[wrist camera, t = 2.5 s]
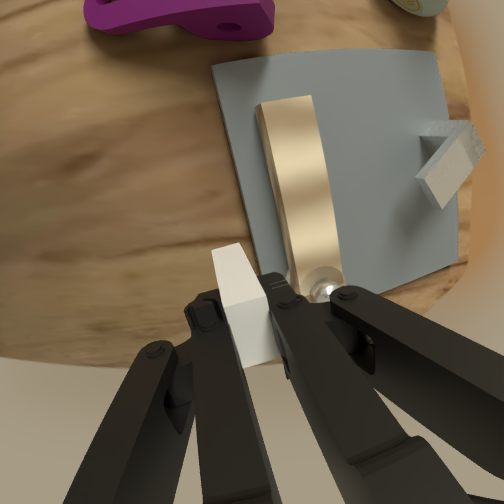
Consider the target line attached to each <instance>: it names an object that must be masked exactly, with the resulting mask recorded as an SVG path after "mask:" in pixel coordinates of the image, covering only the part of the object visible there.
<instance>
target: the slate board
mask: <svg viewBox="0 0 504 504" xmlns="http://www.w3.org/2000/svg"><path fill="white" fill-rule="evenodd" d="M211 72H212V76H213V80H214V84H215V88H216V92H217V97H218V101H219V105H220V109H221V113H222V117H223V121H224V125H225V130H226V134H227V138H228V142H229V146H230V150H231V154H232V159H233V163H234V167H235V171H236V175H237V179H238V184H239V188H240V192H241V196H242V200H243V204H244V209H245V213H246V217H247V221H248V225H249V229H250V234H251V238H252V242H253V246H254V250H255V254H256V259H257V263H258V267H259V271H260V275H264V274H268V273H271V272H277V273H280V274H282V275H283V276H284V278H285V279H286V273H287V270H288V268H289V266H288V261H287V256H286V251H285V246H284V241H283V236H282V231H281V227H280V222H279V217H278V212H277V208H276V203H275V198H274V194H273V189H272V185H271V180H270V175H269V171H268V166H267V162H266V158H265V153H264V149H263V144H262V140H261V136H260V131H259V127H258V123H257V119H256V115H255V110H254V107H256V106H257V105H259V104H260V103H264V102H269V101H275V100H281V99H287V98H293V97H300V96H307V95H311V97H312V102H313V106H314V110H315V115H316V119H317V124H318V129H319V133H320V138H321V143H322V148H323V153H324V158H325V163H326V169H327V174H328V180H329V185H330V191H331V197H332V203H333V209H334V215H335V222H336V229H337V235H338V242H339V250H340V257H341V265H342V273H343V275H344V277H345V280H346V285H353V286H359V287H362V288H365V289H367V290H369V291H371V292H373V293H375V294H380V293H382V292H385V291H388V290H390V289H393V288H395V287H398V286H400V285H403V284H405V283H408V282H410V281H413V280H415V279H418V278H420V277H423V276H425V275H427V274H430V273H432V272H435V271H437V270H439V269H442V268H444V267H446V266H449V265H451V264H453V263H455V262H458V199H457V191H456V192H455V194H454V195H453V196H452V198H451V199H450V200H449V201H448V203H447V204H446V205H445V207H444V208H443V209H439V208H436V207H433V206H432V205H431V203H430V201H429V200H428V198H427V196H426V195H425V193H424V191H423V190H422V188H421V186H420V185H419V183H418V182H417V180H416V179H415V176H416V175H417V174H418V173H419V171H420V170H421V169H422V168H423V167H424V165H425V164H426V163H427V162H428V161H429V159H430V158H431V157H432V155H431V153H430V152H429V150H428V149H427V147H426V145H425V144H424V142H423V141H422V139H421V137H420V134H421V133H422V132H423V131H424V130H425V129H426V127H427V126H428V125H429V124H430V123H431V122H432V121H445V120H449V116H448V110H447V104H446V99H445V94H444V89H443V84H442V80H441V75H440V71H439V67H438V63H437V59H436V55H435V52H432V51H419V50H403V49H336V50H318V51H305V52H295V53H285V54H277V55H269V56H262V57H255V58H249V59H243V60H237V61H231V62H226V63H221V64H216V65H212V67H211Z"/></svg>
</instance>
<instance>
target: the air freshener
mask: <svg viewBox="0 0 504 504" xmlns="http://www.w3.org/2000/svg"><path fill="white" fill-rule="evenodd" d="M392 1H393V2H394V3H396V4H397V5H398V6H399V7H401V8H402V9H404V10H406V11H407V12H409V13H412V14H415V15H418V16H424V17H430V16H435V15H438V14H440V13H441V12H443V11H444V9H445V8H446V6H447V4H448V1H449V0H392Z"/></svg>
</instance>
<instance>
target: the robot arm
mask: <svg viewBox="0 0 504 504" xmlns="http://www.w3.org/2000/svg"><path fill="white" fill-rule="evenodd" d="M211 251H212V256H213V261H214V266H215V271H216V276H217V281H218V286H219V288H218V289H215V290H211V291H207V292H204V293H200V294H198V296H197V297H196V298H195V300H194V301H193V302H191V303H189V304H188V305H187V306H186V307H185V309H184V313H185V316H186V318H187V321H188V324H189V326H190V329H191V338H190V339H188V340H187V341H186V342H184V343H182V344H180V345H178V346H175V347H174V346H173V345H172V343H171V342H169V341H166V340H160V341H154V342H151V343H149V344H147V345H146V346H145V347H143V348H142V349H141V350H140V351H139V353H138V354H137V356H136V358H135V360H134V362H133V364H132V365H131V367H130V369H129V371H128V373H127V375H126V377H125V378H124V381H123V382H122V384H121V386H120V388H119V390H118V392H117V394H116V395H115V398H114V399H113V401H112V403H111V405H110V407H109V409H108V411H107V413H106V415H105V417H104V419H103V421H102V423H101V425H100V427H99V428H98V430H97V432H96V434H95V436H94V438H93V441H92V443H91V445H90V447H89V449H88V451H87V453H86V455H85V457H84V459H83V461H82V463H81V465H80V468H79V470H78V471H77V474H76V476H75V478H74V480H73V482H72V485H71V486H70V488H69V491H68V493H67V495H66V497H65V499H64V502H63V504H173V501H174V498H175V493H176V489H177V485H178V481H179V477H180V473H181V469H182V465H183V461H184V457H185V453H186V449H187V445H188V440H189V437H190V433H191V428H192V425H193V421H194V417H195V418H196V431H197V444H198V456H199V466H200V476H201V486H202V495H203V504H282V501H281V498H280V494H279V491H278V488H277V485H276V482H275V478H274V475H273V472H272V468H271V465H270V461H269V458H268V455H267V451H266V448H265V445H264V441H263V437H262V434H261V431H260V427H259V423H258V420H257V416H256V413H255V409H254V406H253V402H252V398H251V395H250V391H249V387H248V384H247V380H246V376H245V373H244V370H243V368H246V367H250V366H253V365H257V364H260V363H264V362H267V361H270V360H274V359H277V358H280V357H281V356H282V361H283V365H284V369H285V374H286V378H287V379H290V381H291V383H292V385H293V388H294V390H295V392H296V395H297V397H298V399H299V402H300V404H301V406H302V408H303V411H304V413H305V415H306V417H307V420H308V422H309V424H310V426H311V429H312V431H313V433H314V435H315V438H316V440H317V442H318V444H319V447H320V449H321V451H322V453H323V456H324V458H325V460H326V462H327V464H328V467H329V469H330V471H331V473H332V475H333V478H334V480H335V482H336V484H337V487H338V488H339V491H340V493H341V495H342V497H343V499H344V502H345V504H504V501H500V500H495V499H490V498H484V497H480V496H475V495H470V494H467V493H466V492H465V491H464V489H463V488H462V487H461V485H460V484H459V483H458V481H457V480H456V479H455V477H454V476H453V475H452V473H451V472H450V471H449V469H448V468H447V466H446V465H445V464H444V462H443V461H442V460H441V458H440V457H439V456H438V455H437V453H436V452H435V451H434V449H433V448H432V447H431V445H430V444H429V443H428V442H427V441H426V440H425V439H424V438H422V437H421V436H414V437H410V436H408V434H407V433H406V432H405V431H404V429H403V428H402V427H401V425H400V424H399V423H398V421H397V420H396V418H395V417H394V416H393V414H392V413H391V412H390V410H389V409H388V408H387V406H386V405H385V403H384V402H383V401H382V399H381V398H380V397H379V395H378V394H377V392H376V391H375V390H374V388H375V389H376V390H377V391H379V392H380V393H381V394H382V395H384V396H385V397H386V398H388V399H389V400H390V401H391V402H393V403H394V404H395V405H397V406H398V407H400V408H401V409H402V410H403V411H405V412H406V413H407V414H409V415H410V416H411V417H413V418H414V419H415V420H417V421H418V422H419V423H421V424H422V425H423V426H425V427H426V428H427V429H429V430H430V431H432V432H433V433H434V434H436V435H437V436H438V437H440V438H441V439H442V440H444V441H445V442H446V443H448V444H449V445H451V446H452V447H453V448H455V449H456V450H458V451H459V452H460V453H462V454H463V455H464V456H466V457H467V458H469V459H470V460H471V461H473V462H474V463H476V464H477V465H478V466H480V467H481V468H483V469H484V470H486V471H488V472H489V473H491V474H493V475H494V476H496V477H498V478H501V479H503V480H504V356H502V355H500V354H498V353H497V352H494V351H493V350H490V349H488V348H486V347H484V346H482V345H480V344H478V343H476V342H474V341H472V340H470V339H468V338H466V337H464V336H462V335H460V334H458V333H456V332H454V331H452V330H450V329H448V328H445V327H444V326H442V325H440V324H438V323H435V322H433V321H431V320H429V319H427V318H425V317H423V316H421V315H419V314H417V313H415V312H413V311H411V310H409V309H406V308H404V307H402V306H400V305H398V304H396V303H394V302H392V301H390V300H388V299H386V298H383V297H381V296H379V295H377V294H375V293H373V292H371V291H369V290H367V289H365V288H362V287H359V286H353V285H346V286H342V287H340V288H337V289H335V290H334V291H332V292H331V294H330V295H329V299H330V301H328V302H321V303H310V302H309V301H308V300H307V298H306V297H304V296H303V295H299V294H296V293H295V291H294V290H293V289H292V287H291V286H290V284H289V283H288V282H287V280H286V279H285V278H284V276H283V275H282V274H280V273H277V272H271V273H268V274H264V275H261V276H257V277H256V275H255V273H254V271H253V269H252V267H251V265H250V263H249V261H248V259H247V257H246V255H245V253H244V251H243V249H242V247H241V245H240V244H239V243H236V244H232V245H229V246H225V247H221V248H218V249H214V250H211ZM369 337H370V338H371V339H370V338H369ZM279 351H280V352H279ZM280 353H281V356H280Z"/></svg>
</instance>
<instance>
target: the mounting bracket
mask: <svg viewBox="0 0 504 504" xmlns="http://www.w3.org/2000/svg"><path fill="white" fill-rule="evenodd" d="M108 3H109V0H85V2H84V17H85V20H86V22H87V23H88V24H89V25H90V26H91V27H93V28H95V29H97V30H100V31H103V32H105V33H108V34H111V35H123V34H127V33H131V32H135V31H139V30H144V29H148V28H153V27H158V26H163V25H168V24H176V25H180V26H181V27H183V28H184V29H185V30H187V31H188V32H190V33H191V34H193V35H196V36H199V37H202V38H206V39H211V40H226V41H251V40H257V39H261V38H264V37H266V36H268V35H270V34H271V33H272V32H273V29H274V13H275V5H274V3H273V1H272V0H117V1H114V2H111V3H109V4H108Z"/></svg>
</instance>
